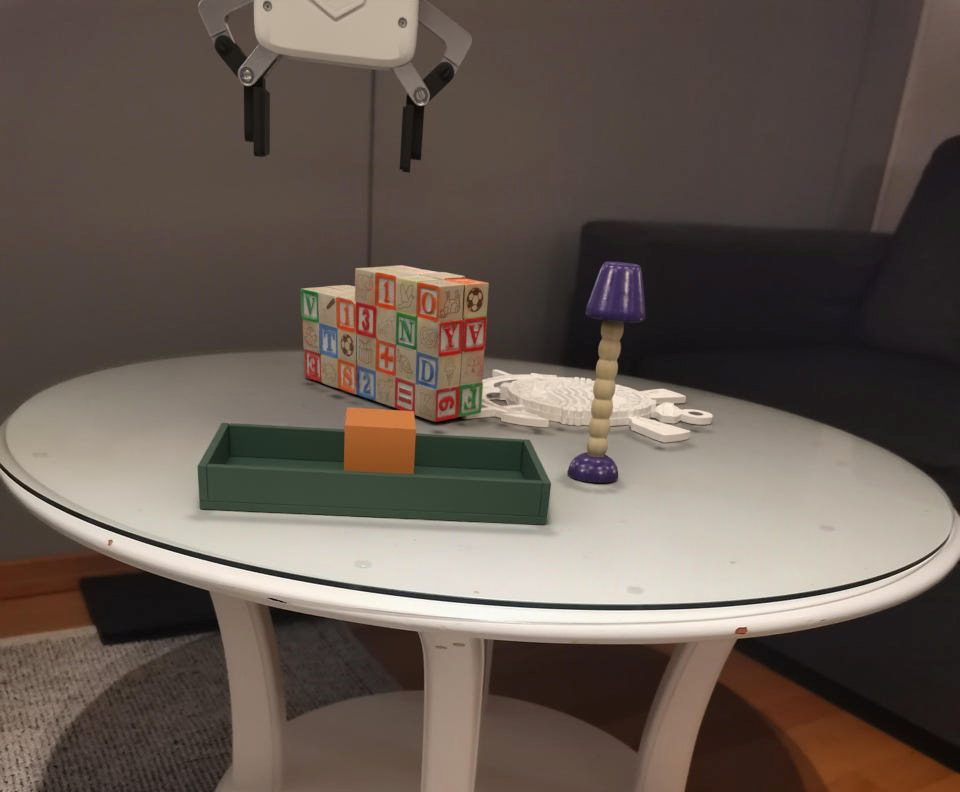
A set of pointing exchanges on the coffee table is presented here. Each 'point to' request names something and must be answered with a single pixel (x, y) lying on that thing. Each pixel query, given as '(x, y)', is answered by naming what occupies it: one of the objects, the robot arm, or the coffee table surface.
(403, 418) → the orange block
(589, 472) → the toy lamp
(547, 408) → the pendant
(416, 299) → the stack of blocks
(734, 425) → the coffee table surface
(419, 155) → the robot arm
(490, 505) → the tray
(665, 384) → the coffee table surface
